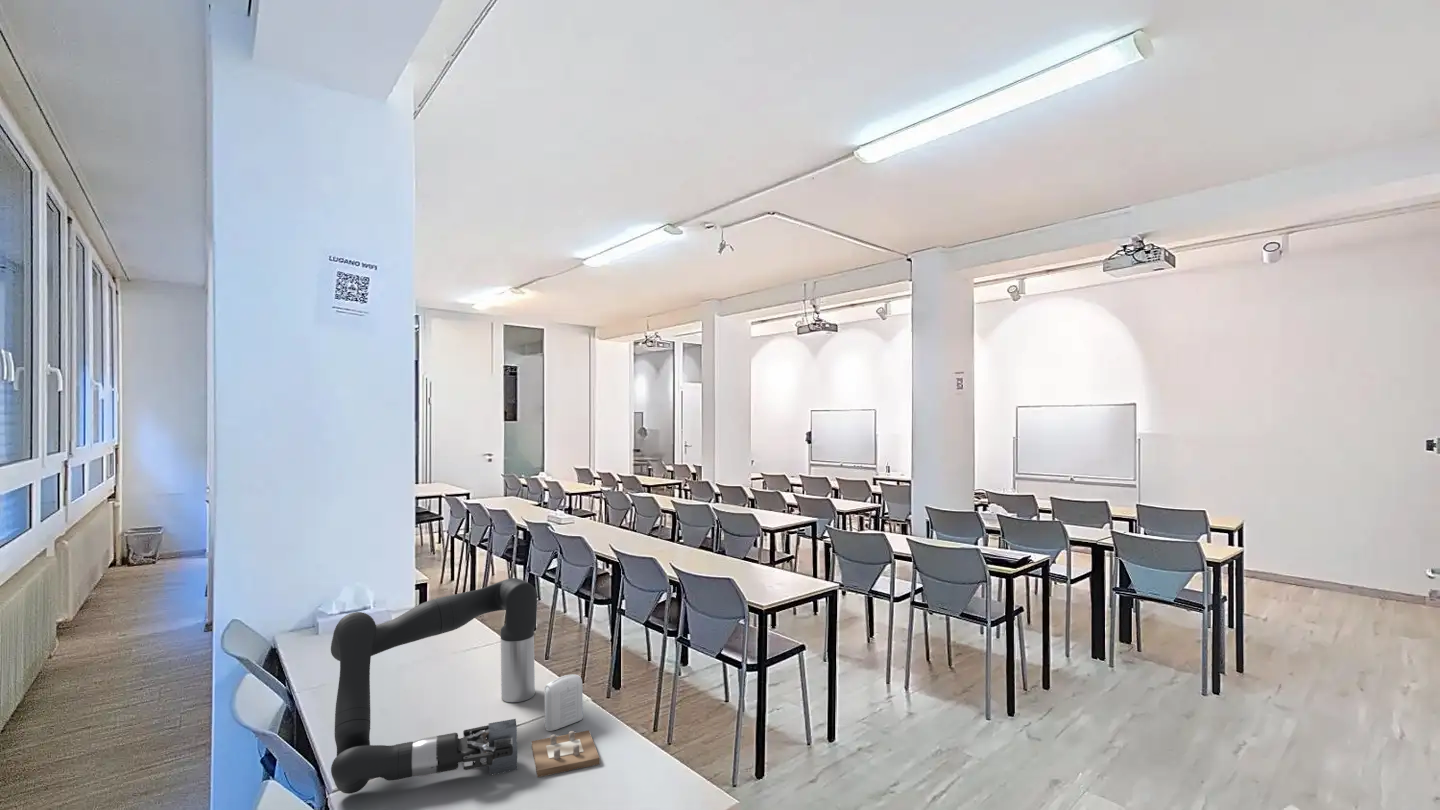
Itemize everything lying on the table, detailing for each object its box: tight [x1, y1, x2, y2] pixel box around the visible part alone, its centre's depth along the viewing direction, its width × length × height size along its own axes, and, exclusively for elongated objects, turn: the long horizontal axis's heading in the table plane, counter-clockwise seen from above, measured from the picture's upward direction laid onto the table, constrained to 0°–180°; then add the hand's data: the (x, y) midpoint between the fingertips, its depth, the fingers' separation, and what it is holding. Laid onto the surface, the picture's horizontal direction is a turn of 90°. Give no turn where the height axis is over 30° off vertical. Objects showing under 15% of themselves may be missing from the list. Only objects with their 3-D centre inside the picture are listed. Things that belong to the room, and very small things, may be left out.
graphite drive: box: [488, 718, 518, 776], centre depth 152 cm, size 4×6×10 cm
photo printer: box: [544, 673, 584, 732], centre depth 173 cm, size 10×4×12 cm, turn 134°
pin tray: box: [531, 729, 601, 778], centre depth 157 cm, size 14×14×4 cm
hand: (511, 740), depth 153 cm, fingers open, 8 cm apart
